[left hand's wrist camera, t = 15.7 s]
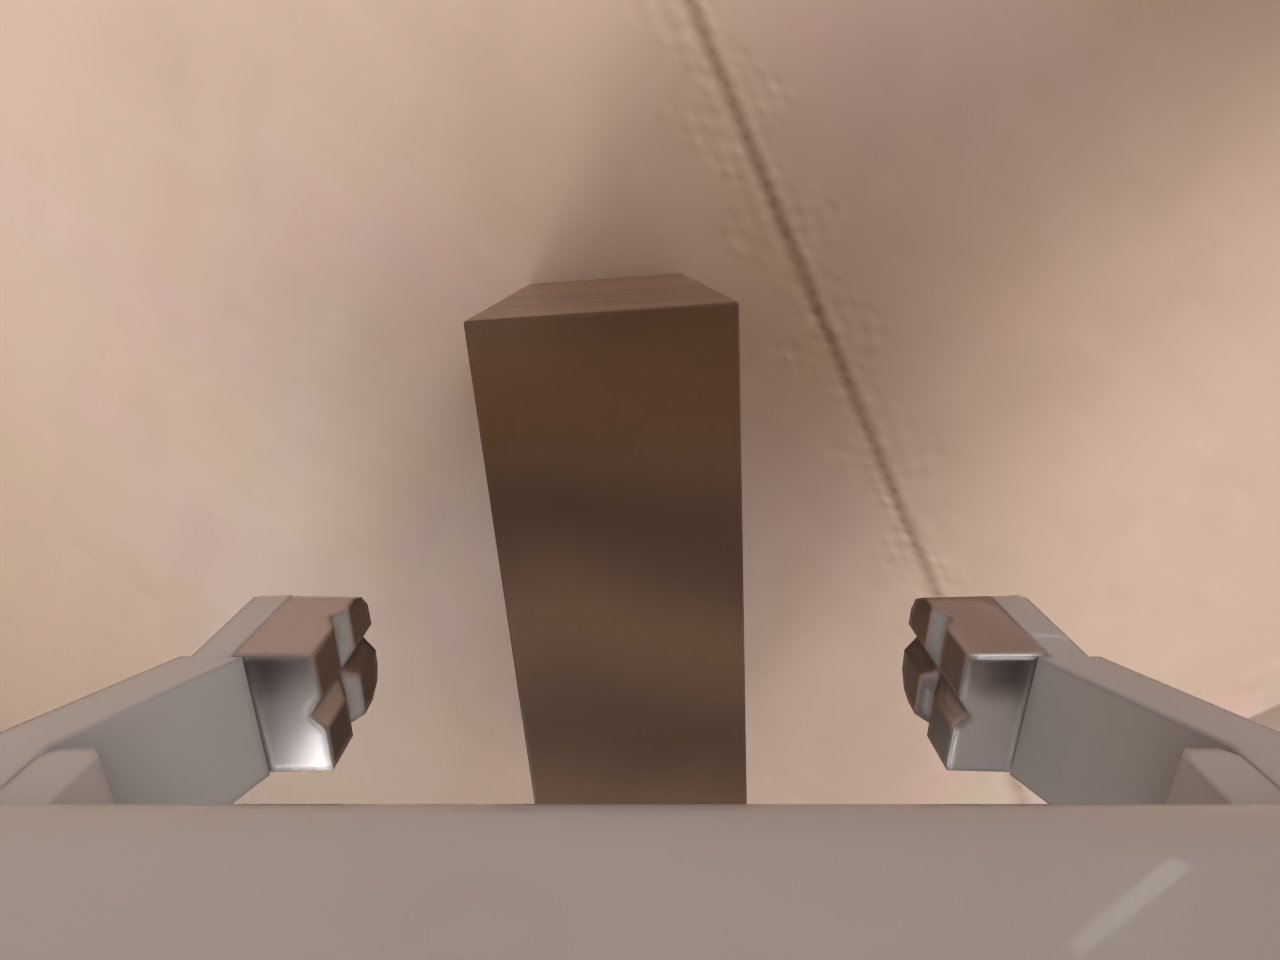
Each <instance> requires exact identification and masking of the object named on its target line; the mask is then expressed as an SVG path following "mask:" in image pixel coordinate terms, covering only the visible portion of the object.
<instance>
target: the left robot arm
mask: <svg viewBox="0 0 1280 960" xmlns="http://www.w3.org/2000/svg"><path fill="white" fill-rule="evenodd" d="M370 625H371V620H370V615H369V610H368V605H367V603H366V602H365V601H364V600H363V599H362V598H361V597H316V596H295V597H294V596H291V595H288V596H260V597H254V598H253V599H252V600H251V601H250V602H248V603H247V604H246V605H245V606H244V607H243V608H242V609H241V610H240V611H239V612H238V613H237V614H236V615H235V616H234V617H233V618H232V619H231V620H229V621H228V622H227V623H226V624H225V625H224V626H223V627H222V628H221V629H220V630H219V631H218V632H217V633H216V634H215V635H214V636H213V637H212V638H210V639H209V640H208V641H207V642H206V643H205V644H204V645H203V646H202V647H201V648H200V649H199V650H198V651H197V652H196V653H195V654H194V655H192V656H191V657H178V658H176V659H173V660H171V661H169V662H166V663H164V664H161V665H159V666H157V667H154V668H152V669H149V670H147V671H145V672H142V673H140V674H138V675H135V676H133V677H130V678H128V679H126V680H123V681H121V682H119V683H116V684H114V685H111V686H109V687H107V688H104V689H102V690H100V691H97V692H95V693H92V694H90V695H88V696H85V697H83V698H81V699H78V700H76V701H73V702H71V703H69V704H66V705H64V706H62V707H59V708H57V709H54V710H52V711H50V712H47V713H45V714H43V715H40V716H38V717H35V718H33V719H31V720H28V721H26V722H23V723H21V724H19V725H16V726H14V727H12V728H9V729H7V730H4V731H2V732H0V960H1280V732H1277V731H1275V730H1273V729H1270V728H1268V727H1266V726H1263V725H1261V724H1258V723H1256V722H1254V721H1251V720H1249V719H1247V718H1244V717H1242V716H1239V715H1237V714H1235V713H1232V712H1230V711H1228V710H1225V709H1223V708H1221V707H1218V706H1216V705H1213V704H1211V703H1209V702H1206V701H1204V700H1202V699H1199V698H1197V697H1194V696H1192V695H1190V694H1187V693H1185V692H1183V691H1180V690H1178V689H1175V688H1173V687H1171V686H1168V685H1166V684H1164V683H1161V682H1159V681H1157V680H1154V679H1152V678H1149V677H1147V676H1145V675H1142V674H1140V673H1138V672H1135V671H1133V670H1130V669H1128V668H1126V667H1123V666H1121V665H1119V664H1116V663H1114V662H1111V661H1109V660H1107V659H1104V658H1102V657H1089V656H1088V655H1087V654H1085V653H1084V652H1083V651H1082V650H1081V649H1080V648H1079V647H1078V646H1077V645H1076V644H1075V643H1074V642H1073V641H1072V640H1071V639H1070V638H1069V637H1068V636H1067V635H1065V634H1064V633H1063V632H1062V631H1061V630H1060V629H1059V628H1058V627H1057V626H1056V625H1055V624H1054V623H1053V622H1052V621H1051V620H1050V619H1049V618H1048V617H1046V616H1045V615H1044V614H1043V613H1042V612H1041V611H1040V610H1039V609H1038V608H1037V607H1036V606H1035V605H1034V604H1033V603H1032V602H1031V601H1030V600H1029V599H1028V598H1025V597H1022V596H1019V595H1012V596H977V597H936V598H919V599H916V600H915V602H914V604H913V606H912V608H911V614H910V619H909V625H910V627H911V628H912V630H913V631H914V633H915V634H916V636H917V637H916V638H915V639H914V641H913V642H912V643H911V644H910V645H909V646H908V647H907V648H906V649H905V651H904V659H903V667H902V672H903V683H904V690H905V693H906V696H907V699H908V702H909V704H910V706H911V708H912V709H913V711H914V713H915V714H916V715H918V716H919V717H921V718H922V719H924V720H926V721H927V722H929V727H928V733H927V736H928V738H929V740H930V741H931V743H932V745H933V747H934V748H935V750H936V752H937V754H938V755H939V757H940V759H941V761H942V762H943V764H944V766H945V767H946V769H947V770H960V771H997V772H1011V773H1010V775H1011V776H1013V777H1014V778H1015V779H1017V780H1018V781H1019V782H1021V783H1022V784H1023V785H1024V786H1026V787H1027V788H1028V789H1030V790H1031V791H1032V792H1034V793H1035V794H1036V795H1038V796H1039V797H1040V798H1042V799H1043V800H1044V801H1045V802H1047V803H1048V804H232V803H233V802H235V801H236V800H237V799H239V798H240V797H241V796H243V795H244V794H245V793H247V792H248V791H249V790H251V789H252V788H253V787H254V786H256V785H257V784H258V783H260V782H261V781H262V780H264V779H265V778H266V777H268V776H269V772H282V771H318V770H333V769H334V768H335V766H336V764H337V762H338V761H339V759H340V757H341V755H342V754H343V752H344V750H345V748H346V747H347V745H348V743H349V741H350V740H351V738H352V736H353V733H352V727H351V722H353V721H354V720H356V719H358V718H359V717H361V716H362V715H364V714H365V713H366V711H367V709H368V707H369V706H370V704H371V702H372V700H373V696H374V692H375V688H376V683H377V658H376V651H375V649H374V648H373V647H372V646H371V645H370V644H369V643H368V642H367V641H366V639H365V638H364V637H363V636H364V634H365V633H366V631H367V630H368V628H369V627H370Z"/></svg>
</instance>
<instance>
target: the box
mask: <svg viewBox="0 0 1280 960" xmlns="http://www.w3.org/2000/svg"><path fill="white" fill-rule="evenodd" d="M464 329H465V336H466V342H467V349H468V356H469V363H470V369H471V376H472V383H473V390H474V396H475V403H476V410H477V416H478V423H479V430H480V437H481V443H482V450H483V457H484V464H485V470H486V477H487V484H488V490H489V497H490V504H491V511H492V517H493V524H494V531H495V538H496V544H497V551H498V558H499V565H500V571H501V578H502V585H503V591H504V598H505V605H506V612H507V618H508V625H509V632H510V639H511V645H512V652H513V659H514V665H515V672H516V679H517V686H518V692H519V699H520V706H521V713H522V719H523V726H524V733H525V739H526V746H527V753H528V760H529V766H530V773H531V780H532V787H533V793H534V800H535V804H747V797H746V733H745V670H744V606H743V543H742V479H741V416H740V352H739V304H738V302H736V301H734V300H732V299H730V298H728V297H726V296H724V295H722V294H720V293H718V292H716V291H714V290H712V289H710V288H708V287H707V286H705V285H703V284H701V283H699V282H697V281H695V280H693V279H691V278H689V277H687V276H685V275H683V274H674V275H659V276H645V277H630V278H616V279H602V280H587V281H573V282H559V283H544V284H530V285H528V286H526V287H524V288H523V289H521V290H519V291H517V292H516V293H514V294H512V295H510V296H509V297H507V298H505V299H503V300H502V301H500V302H498V303H496V304H495V305H493V306H491V307H489V308H488V309H486V310H484V311H482V312H481V313H479V314H477V315H475V316H474V317H472V318H470V319H468V320H467V321H465V322H464Z"/></svg>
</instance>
